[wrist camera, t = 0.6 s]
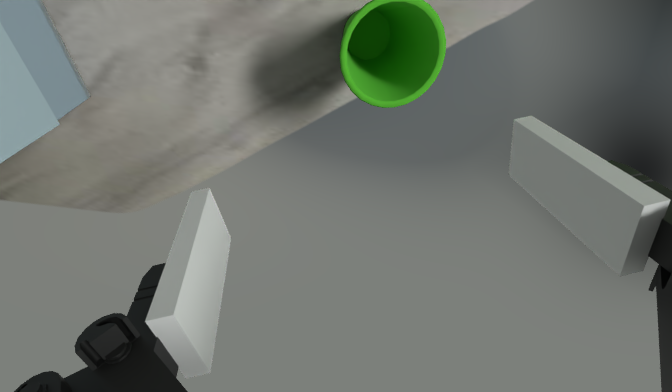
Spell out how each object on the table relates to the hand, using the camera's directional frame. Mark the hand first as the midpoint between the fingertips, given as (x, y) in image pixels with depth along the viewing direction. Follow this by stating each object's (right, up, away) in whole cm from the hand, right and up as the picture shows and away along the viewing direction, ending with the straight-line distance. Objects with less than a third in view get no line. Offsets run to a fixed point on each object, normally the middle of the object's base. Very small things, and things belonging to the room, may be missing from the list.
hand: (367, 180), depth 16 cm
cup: (+2, +17, +24) cm, 29 cm away
